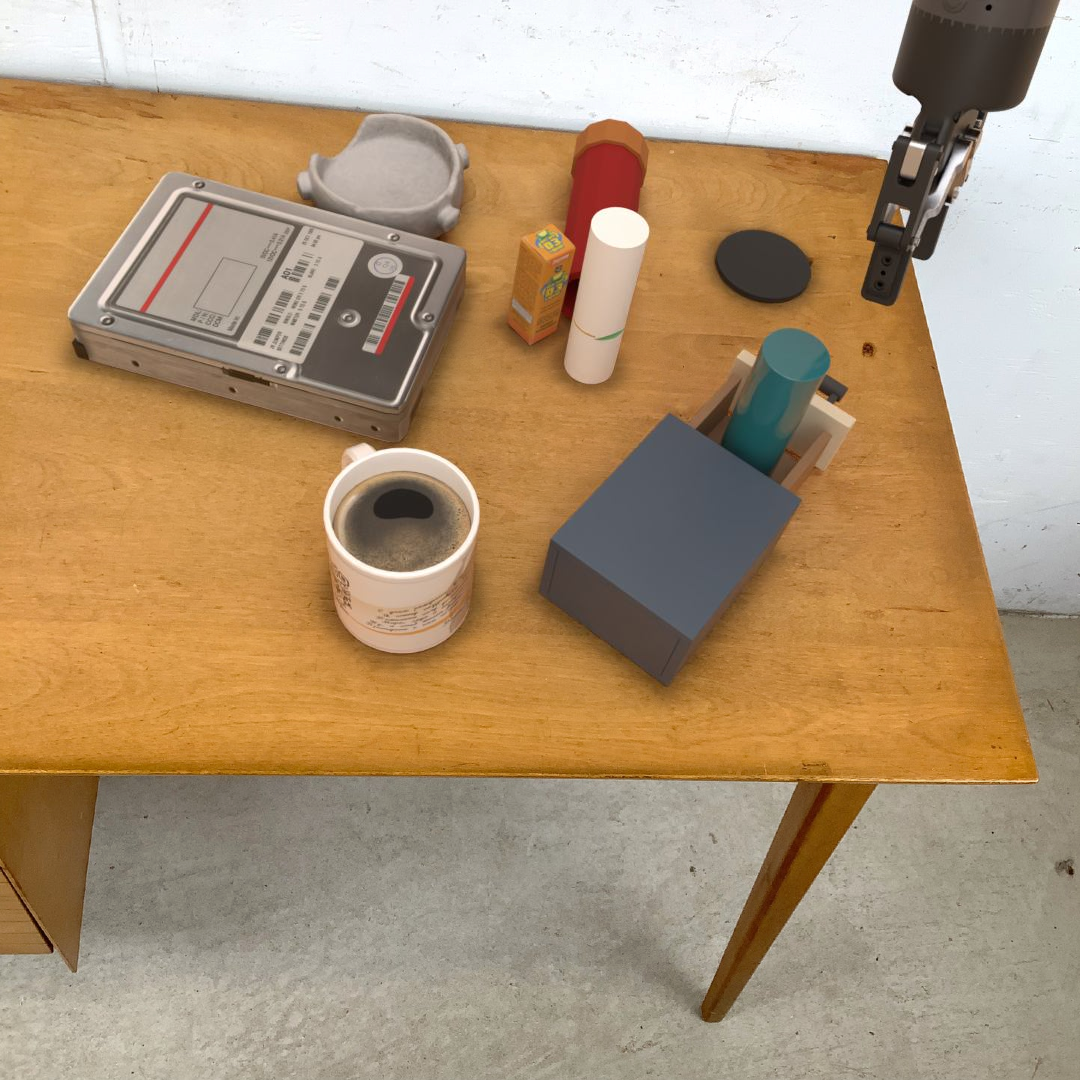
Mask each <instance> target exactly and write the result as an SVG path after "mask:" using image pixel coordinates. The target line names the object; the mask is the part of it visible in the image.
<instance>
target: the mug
mask: <svg viewBox="0 0 1080 1080" xmlns="http://www.w3.org/2000/svg"><path fill="white" fill-rule="evenodd" d="M322 509H323V510H322V511H323V513H322V514H323V515H322V516H323V517H322V519H323V527H324V533H325V542H326V551H327V556H328V565H329V571H330V572H329V573H330V579H331V587H332V593H333V602H334V606H335V610H336V612H337V616H338V617H339V619H340V621H341V622H342V624H343V626H344V628H345V629H346V630H347V631H348V632H349V633H350V634H351V635H352V636H353V637H354V638H356V639H357V640H359V642H361V643H363V644H365V645H366V646H368V647H370V648H373V649H375V650H378V651H382V652H386V653H392V654H413V653H418V652H423V651H425V650H429V649H431V648H434V647H436V646H438V645H439V644H441V643H443V642H444V641H446V640H447V639H448V638H450V637H451V636H452V635H453V634H454V633H455V632H456V631H457V630H458V629H459V628H460V627H461V625H462V624H463V622H464V621H465V619H466V617H467V614H468V612H469V611H470V606H471V601H472V592H473V585H474V575H475V567H476V566H475V565H476V557H477V549H478V540H479V539H478V537H479V528H480V518H481V508H480V501H479V498H478V495H477V492H476V490H475V487H474V486H473V484H472V482H471V481H470V480H469V478H468V477H467V476H466V475H465V473H464V472H463V471H461V470H460V469H459V467H458V466H456V465H455V464H454V463H452V462H451V461H450V460H448V459H446V458H444V457H442V456H440V455H438V454H435V453H433V452H430V451H427V450H422V449H419V448H413V447H412V448H410V447H393V448H391V447H390V448H386V449H385V448H384V449H380V450H376V448H374V447H373V446H372V445H370V444H368V443H367V442H360V443H358V444H355V445H353V446H350V447H347V448H345V449H344V451H343V453H342V455H341V471H340V472H339V473H338V475H337V476H336V477H335V478H334V480H333V482H332V483H331V485H330V487H329V488H328V490H327V493H326V496H325V498H324V504H323V508H322Z"/></svg>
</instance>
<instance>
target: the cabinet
mask: <svg viewBox="0 0 1080 1080" xmlns="http://www.w3.org/2000/svg"><path fill="white" fill-rule="evenodd" d="M802 502H803V499H802V498H801V497H799V496H798V495H797V494H796V493H795V494H793V493H792V492H790V491H789V490H787V489H786V488H784V487H783V486H781V485H779V484H778V483H776V482H775V481H773V480H772V479H770V478H769V477H767V476H766V475H764V474H763V473H761V472H760V471H758V470H757V469H755V468H754V467H752V466H751V465H749V464H747V463H746V462H744V461H743V460H741V459H740V458H738V457H737V456H735V455H734V454H732V453H731V452H729V451H728V450H726V449H725V448H723V447H722V446H720V445H718V444H717V443H715V442H714V441H712V440H711V439H709V438H708V437H706V436H705V435H703V434H702V433H700V432H699V431H697V430H696V429H694V428H693V427H691V426H689V425H688V423H686V422H685V421H683V420H682V419H681V418H680V417H679V418H678V416H676V415H674V414H673V413H671V412H668V413H667V414H666V416H664V418H662V420H660V421H659V423H658V424H657V425H656V426H655V427H654V428H653V429H652V430H651V431H650V432H649V433H648V434H647V436H645V438H643V440H642V441H640V443H639V444H638V445H637V446H636V447H635V448H634V449H633V450H632V451H631V453H629V455H628V456H627V457H626V458H625V459H624V460H623V461H622V462H621V463H620V464H619V465H618V466H617V467H616V468H615V470H613V472H612V473H611V474H610V475H609V476H608V477H607V478H606V479H604V481H603V482H602V483H601V484H600V485H599V486H598V487H597V489H596V490H594V492H593V493H591V495H590V496H589V497H588V498H587V499H586V500H585V501H584V502H583V503H582V505H581V506H579V508H578V509H576V511H575V512H574V513H573V514H572V515H571V516H570V517H569V518H568V519H567V521H565V523H564V524H563V525H562V526H560V528H559V529H558V530H557V531H556V532H555V533H554V534H553V535H552V536H551V537H550V539H549V543H548V547H547V552H546V555H545V556H546V557H545V561H544V567H543V571H542V573H541V579H540V583H539V587H538V593H539V594H540V595H542V596H543V597H544V598H546V599H547V600H548V601H549V602H551V603H552V604H554V605H555V606H556V607H558V608H559V609H561V610H562V611H563V612H564V613H566V614H567V615H569V616H570V617H571V618H573V619H574V620H576V621H577V622H578V623H580V625H582V626H583V627H585V628H586V629H588V630H589V631H591V633H593V634H594V635H595V636H597V637H599V639H601V640H602V641H604V642H605V643H607V644H608V645H610V646H611V647H612V648H613V649H615V650H616V651H617V652H619V653H620V654H622V655H623V656H624V657H626V658H627V659H628V660H630V661H631V662H632V663H634V664H635V665H636V666H638V667H639V668H641V669H642V670H644V671H645V672H646V673H647V674H649V676H651V677H653V678H654V679H655V680H657V681H658V682H659V683H661V684H662V685H663V686H665V687H666V688H668V687H669V686H670V684H672V682H673V681H674V679H675V678H676V677H677V676H678V674H679V673H680V672H681V670H682V669H683V668H684V667H685V665H686V664H687V663H688V661H689V660H690V658H692V656H693V655H694V654H695V652H696V651H697V650H698V648H699V647H700V646H701V644H703V642H704V640H705V639H706V638H707V637H708V636H709V634H710V633H711V632H712V630H713V629H714V627H715V626H716V625H717V624H718V623H719V622H720V620H721V619H722V617H723V616H724V615H725V613H727V611H728V610H729V609H730V607H731V606H732V604H733V603H734V602H735V601H736V599H737V598H738V597H739V595H740V594H741V593H742V592H743V590H744V589H745V588H746V586H747V585H748V584H749V582H750V581H751V580H752V579H753V577H754V576H755V574H756V573H757V572H758V571H759V570H760V568H762V566H763V564H764V563H765V562H766V561H767V559H768V558H769V556H771V554H772V552H773V551H774V549H775V547H776V546H777V544H778V542H779V541H780V540H781V537H782V535H783V534H784V532H785V530H787V527H788V525H789V524H790V522H791V521H792V519H793V518H794V516H795V514H796V513H797V511H798V510H799V507H800V506H801V504H802Z"/></svg>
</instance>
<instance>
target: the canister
mask: <svg viewBox="0 0 1080 1080" xmlns="http://www.w3.org/2000/svg"><path fill="white" fill-rule="evenodd" d="M831 361H832V359H831V354H830V352H829V350H828V348H827V346H826V345H825V343H824V342H822V340H821V339H819V338H818V337H817V336H815V335H814V334H812V333H810V332H808V331H806V330H803V329H800V328H793V327H785V328H784V327H783V328H779V329H776V330H774V331H773V330H772V331H771V332H770V333H769V334H767V336H766V337H765V338H764V339H763V341H762V344H761V346H760V348H759V350H758V352H757V355H756V359H755V362H754V364H753V366H752V369H751V371H750V373H749V376H748V378H747V380H746V382H745V385H744V387H743V389H742V392H741V394H740V396H739V399H738V401H737V403H736V406H735V408H734V410H733V412H731V415H730V419H729V422H728V424H727V426H726V429H725V431H724V433H723V435H722V438H721V440H720V442H719V445H720V446H722V447H723V448H725V449H726V450H728V451H729V452H731V453H732V454H734V455H735V456H737V457H738V458H740V459H741V460H743V461H744V462H746V463H747V464H749V465H751V466H752V467H754V468H755V469H757V470H758V471H760V472H761V473H763V474H764V475H766V476H767V477H769V478H770V479H771V477H772V475H773V473H774V471H775V470H776V468H777V466H778V464H779V462H780V460H781V458H782V456H783V455H784V453H785V452H786V451H787V450H788V448H787V447H788V445H789V443H790V441H791V439H792V438H793V436H794V434H795V432H796V430H797V428H798V426H799V424H800V423H801V421H802V419H803V417H804V415H805V413H806V411H807V409H808V408H809V406H810V404H811V402H812V400H813V398H814V396H815V394H817V393H818V391H819V390H818V389H819V387H820V385H821V383H822V381H823V379H824V378H825V376H826V374H827V375H828V372H829V370H830V368H831Z"/></svg>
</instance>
